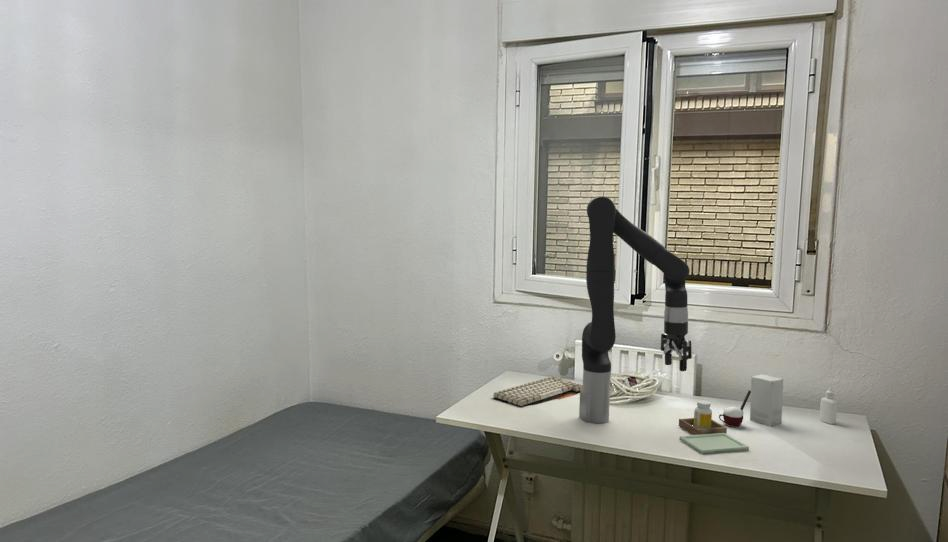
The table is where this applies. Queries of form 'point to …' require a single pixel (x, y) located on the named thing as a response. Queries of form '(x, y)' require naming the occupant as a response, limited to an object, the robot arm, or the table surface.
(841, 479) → the table surface
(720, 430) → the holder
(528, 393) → the mechanical keyboard
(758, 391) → the skincare box
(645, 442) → the table surface
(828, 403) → the eye dropper bottle
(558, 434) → the table surface
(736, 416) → the cocoa
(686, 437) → the tray
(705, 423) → the supplement bottle
